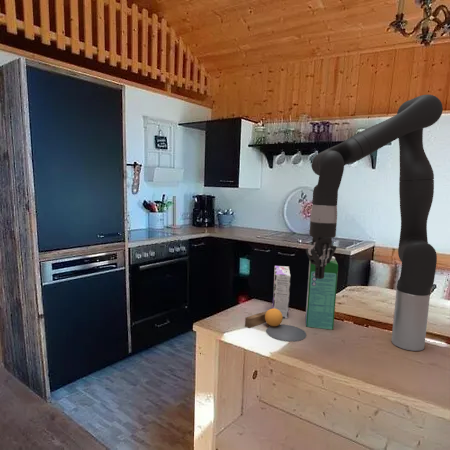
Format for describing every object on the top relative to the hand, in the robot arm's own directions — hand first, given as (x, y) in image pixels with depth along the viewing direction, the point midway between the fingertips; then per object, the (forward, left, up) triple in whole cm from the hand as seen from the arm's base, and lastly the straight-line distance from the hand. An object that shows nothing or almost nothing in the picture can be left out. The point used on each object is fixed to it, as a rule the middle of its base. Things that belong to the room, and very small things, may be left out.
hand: (319, 278), depth 107 cm
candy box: (-14, -25, -21) cm, 36 cm away
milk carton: (-16, -9, -21) cm, 28 cm away
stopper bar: (0, -22, -21) cm, 30 cm away
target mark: (0, -11, -21) cm, 24 cm away
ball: (-1, -17, -18) cm, 25 cm away
